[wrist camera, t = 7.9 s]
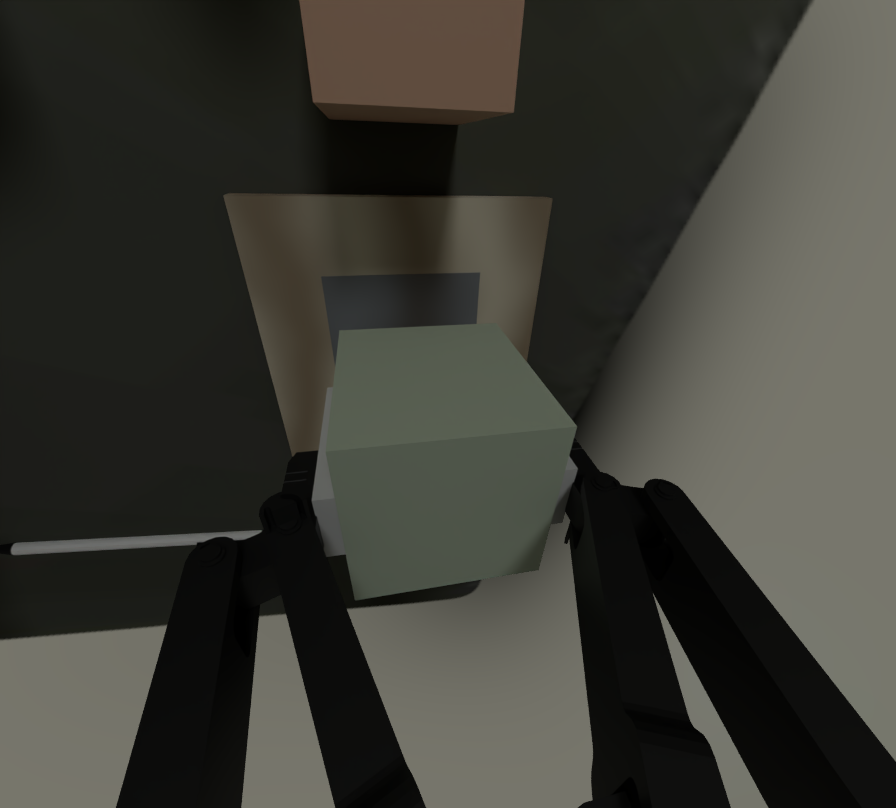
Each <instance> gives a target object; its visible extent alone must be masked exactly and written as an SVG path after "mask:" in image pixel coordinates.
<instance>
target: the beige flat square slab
mask: <svg viewBox="0 0 896 808" xmlns="http://www.w3.org/2000/svg"><path fill="white" fill-rule="evenodd" d="M223 196H224V200H225V204H226V207H227V211H228V215H229V219H230V222H231V226H232V230H233V234H234V238H235V241H236V245H237V249H238V253H239V256H240V260H241V264H242V268H243V271H244V275H245V279H246V283H247V287H248V290H249V294H250V298H251V302H252V305H253V309H254V313H255V317H256V320H257V324H258V328H259V332H260V336H261V339H262V343H263V347H264V351H265V354H266V358H267V362H268V366H269V369H270V373H271V377H272V381H273V385H274V388H275V392H276V396H277V400H278V403H279V407H280V411H281V415H282V419H283V422H284V426H285V430H286V434H287V437H288V441H289V445H290V449H291V452H292V456H294V455H295V454H296V452H305V451H316V450H319V444H320V437H321V430H322V422H323V415H324V408H325V401H326V394H327V388H328V387H333V382H334V374H335V365H336V356H337V348H338V339H339V330H358V329H380V328H401V327H422V326H444V325H465V324H486V323H497V325H498V326H499V327H500V329H501V330H502V331H503V332H504V334H505V335H506V336H507V338H508V339H509V340H510V341H511V343H512V344H513V345H514V347H515V348H516V349H517V350H518V352H519V353H520V354H521V355H522V357H523V358H524V359H525V361H526V362H527V356H528V350H529V344H530V338H531V331H532V325H533V319H534V312H535V306H536V300H537V293H538V287H539V281H540V275H541V268H542V262H543V256H544V249H545V243H546V237H547V230H548V224H549V218H550V212H551V205H552V198H548V197H523V196H432V195H341V194H249V193H229V194H226V195H223Z"/></svg>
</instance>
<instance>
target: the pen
mask: <svg viewBox="0 0 896 808" xmlns="http://www.w3.org/2000/svg"><path fill="white" fill-rule="evenodd" d="M262 531H263V530H256V531H236V532H217V533H198V534H178V535H159V536H140V537H120V538H101V539H82V540H62V541H43V542H23V543H12V544H6V545H0V553H1V554H9V555H25V554H42V553H60V552H77V551H94V550H112V549H129V548H147V547H164V546H182V545H197V546H198V545H200V544H202V543H203V542H205V541H206V540H209V539H212V538H215V537H229V538H232V539H233V540H234V541H235V542H236V543H237V542H239V541H242V540H244V539H247V538H250V537H252V536H254V535H256V534H259V533H260V532H262Z"/></svg>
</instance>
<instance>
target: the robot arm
mask: <svg viewBox="0 0 896 808" xmlns="http://www.w3.org/2000/svg"><path fill="white" fill-rule="evenodd" d="M332 391H333V387H328V388H327V394H326V401H325V408H324V415H323V422H322V430H321V437H320V444H319V450H316V451H305V452H296V454H295V455H294V456H293V457H292V458H291V460H290V461H289V462H288V467H287V471H286V475H285V480H284V484H283V488H282V492H280V493H277V494H275V495H273V496H271V497H270V498H268V499H267V500H266V501H265V502H264V503H263V505H262V506H261V508H260V513H259V517H260V519H261V522H262V525H263V528H264V530H263V531H262V532H260V533H259V534H256V535H254V536H252V537H250V538H247V539H244V540H242V541H239V542H237V543H236V542H235V541H234V540H233V539H232V538H229V537H215V538H212V539H209V540H206V541H205V542H203V543H202V544H200V545H198V546H197V547H196V548H195V549H194V550H193V551H192V552H191V553H190V554H189V556H188V558H187V560H186V562H185V565H184V568H183V572H182V576H181V579H180V583H179V586H178V590H177V593H176V597H175V600H174V604H173V607H172V611H171V615H170V618H169V622H168V625H167V629H166V632H165V636H164V639H163V643H162V647H161V650H160V654H159V657H158V661H157V664H156V668H155V672H154V675H153V678H152V682H151V686H150V689H149V693H148V697H147V700H146V704H145V707H144V710H143V714H142V718H141V721H140V724H139V728H138V732H137V735H136V739H135V742H134V746H133V749H132V753H131V757H130V760H129V764H128V767H127V770H126V774H125V778H124V781H123V785H122V788H121V792H120V795H119V799H118V802H117V806H116V808H241V803H242V793H243V782H244V772H245V771H244V770H245V761H246V750H247V739H248V728H249V716H250V707H251V695H252V685H253V674H254V663H255V652H256V642H257V631H258V620H259V609H260V604H262V603H264V602H266V601H268V600H270V599H272V598H275V597H277V596H279V595H282V599H283V603H284V607H285V611H286V615H287V619H288V623H289V627H290V631H291V635H292V638H293V643H294V647H295V650H296V654H297V658H298V662H299V666H300V670H301V674H302V678H303V682H304V686H305V690H306V694H307V698H308V702H309V706H310V710H311V713H312V717H313V721H314V725H315V729H316V733H317V737H318V741H319V745H320V749H321V753H322V757H323V761H324V765H325V769H326V773H327V777H328V780H329V785H330V788H331V792H332V796H333V800H334V804H335V808H426V807H425V804H424V802H423V799H422V797H421V794H420V791H419V789H418V786H417V784H416V782H415V780H414V777H413V775H412V773H411V772H410V770H409V768H408V766H407V764H406V762H405V760H404V757H403V754H402V752H401V749H400V747H399V744H398V741H397V739H396V736H395V733H394V731H393V728H392V726H391V723H390V721H389V718H388V715H387V713H386V710H385V707H384V705H383V702H382V700H381V697H380V695H379V692H378V689H377V687H376V684H375V682H374V679H373V676H372V674H371V671H370V669H369V666H368V664H367V661H366V658H365V656H364V653H363V650H362V648H361V645H360V643H359V640H358V638H357V635H356V632H355V630H354V627H353V625H352V622H351V619H350V617H349V614H348V612H347V609H346V606H345V604H344V601H343V599H342V596H341V593H340V591H339V588H338V586H337V583H336V580H335V578H334V575H333V573H332V570H331V567H330V565H329V562H328V560H327V557H330V556H337V555H344V554H346V553H345V548H344V543H343V538H342V532H341V527H340V522H339V517H338V512H337V507H336V502H335V497H334V492H333V487H332V482H331V477H330V472H329V467H328V462H327V457H326V443H327V434H328V426H329V417H330V408H331V400H332ZM565 512H566V514H567V515H568V517H569V519H570V524H569V528H568V531H567V534H566V537H565V542H564V543H566V544H567V543H568V540H570V549H571V558H572V566H573V575H574V583H575V593H576V601H577V610H578V619H579V628H580V637H581V646H582V654H583V663H584V672H585V681H586V690H587V698H588V706H589V716H590V725H591V733H592V742H593V763H592V771H591V784H592V797H593V800H592V801H589V802H585V803H583V804H582V805H581V806H579V807H578V808H731V807H730V804H729V801H728V798H727V795H726V791H725V788H724V785H723V782H722V779H721V775H720V772H719V769H718V766H717V762H716V759H715V757H714V754H713V751H712V749H711V746H710V744H709V743H708V741H707V739H706V738H705V736H704V735H703V734H702V733H700V732H699V731H698V730H696V729H695V728H694V727H693V725H692V724H691V722H690V719H689V716H688V714H687V710H686V706H685V703H684V699H683V696H682V693H681V689H680V686H679V682H678V679H677V675H676V672H675V668H674V665H673V661H672V658H671V654H670V651H669V648H668V644H667V641H666V638H665V634H664V630H663V627H662V623H661V620H660V617H659V613H658V610H657V606H656V603H655V600H654V596H653V594H654V595H655V597H656V599H657V601H658V603H659V605H660V607H661V608H662V611H663V612H664V614H665V616H666V618H667V620H668V621H669V624H670V625H671V627H672V629H673V631H674V633H675V635H676V637H677V638H678V640H679V642H680V644H681V646H682V648H683V650H684V652H685V653H686V655H687V657H688V659H689V661H690V663H691V665H692V666H693V668H694V670H695V672H696V674H697V676H698V677H699V679H700V681H701V683H702V685H703V687H704V689H705V691H706V692H707V694H708V696H709V698H710V700H711V702H712V704H713V706H714V707H715V709H716V711H717V713H718V715H719V717H720V719H721V720H722V722H723V724H724V726H725V728H726V730H727V731H728V734H729V735H730V737H731V739H732V741H733V743H734V745H735V746H736V748H737V750H738V752H739V754H740V756H741V758H742V760H743V761H744V763H745V765H746V767H747V769H748V771H749V773H750V775H751V776H752V778H753V780H754V782H755V784H756V786H757V788H758V789H759V791H760V793H761V795H762V797H763V799H764V800H765V802H766V804H767V806H768V807H769V808H896V762H895V760H894V759H893V758H892V757H891V755H890V754H889V753H888V751H887V750H886V749H885V748H884V747H883V745H882V744H881V743H880V741H879V740H878V739H877V737H876V736H875V735H874V734H873V732H872V731H871V730H870V728H869V727H868V726H867V725H866V724H865V722H864V721H863V720H862V718H861V717H860V716H859V714H858V713H857V712H856V711H855V710H854V708H853V707H852V706H851V704H850V703H849V702H848V701H847V699H846V698H845V697H844V695H843V694H842V693H841V692H840V691H839V689H838V688H837V687H836V685H835V684H834V683H833V682H832V680H831V679H830V678H829V676H828V675H827V674H826V672H825V671H824V670H823V669H822V667H821V666H820V665H819V664H818V662H817V661H816V660H815V658H814V657H813V656H812V655H811V653H810V652H809V651H808V650H807V648H806V647H805V646H804V644H803V643H802V642H801V641H800V639H799V638H798V637H797V636H796V634H795V633H794V632H793V630H792V629H791V628H790V627H789V626H788V624H787V623H786V622H785V620H784V619H783V618H782V616H781V615H780V614H779V613H778V611H777V610H776V609H775V608H774V606H773V605H772V604H771V602H770V601H769V600H768V599H767V598H766V596H765V595H764V594H763V592H762V591H761V590H760V589H759V587H758V586H757V585H756V583H755V582H754V581H753V580H752V579H751V577H750V576H749V574H748V573H747V572H746V571H745V569H744V568H743V567H742V566H741V564H740V563H739V562H738V560H737V559H736V558H735V557H734V556H733V554H732V553H731V552H730V550H729V549H728V548H727V547H726V545H725V544H724V543H723V541H722V540H721V539H720V538H719V536H718V535H717V534H716V532H715V531H714V530H713V529H712V527H711V526H710V525H709V524H708V522H707V521H706V520H705V518H704V517H703V516H702V515H701V513H700V512H699V511H698V510H697V508H696V507H695V506H694V504H693V503H692V502H691V501H690V499H689V498H688V497H687V496H686V494H685V493H684V492H683V491H682V490H681V489H680V488H679V487H678V486H676V485H675V484H673V483H671V482H669V481H666V480H662V479H652V480H649V481H648V482H647V483H646V484H645V486H644V488H637V487H630V486H623V485H620V483H619V481H618V480H616V479H615V478H614V477H613V476H610V475H609V474H607V473H603V472H600V471H599V470H598V469H597V467H596V466H595V465H594V463H593V462H592V460H591V459H590V458H589V456H588V455H587V454H586V452H585V451H584V450H583V449H582V447H581V446H580V445H579V443H578V442H577V440H576V439H575V438H574V440H573V443H572V447H571V451H570V454H569V458H568V462H567V466H566V469H565V473H564V477H563V480H562V484H561V488H560V492H559V495H558V499H557V503H556V506H555V510H554V514H553V518H552V521H551V524H555V523H562V522H563V518H564V515H565Z"/></svg>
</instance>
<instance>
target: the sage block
mask: <svg viewBox="0 0 896 808" xmlns="http://www.w3.org/2000/svg"><path fill="white" fill-rule="evenodd" d="M576 428H577V426H576V425H575V423H574V422H573V421H572V420H571V418H570V417H569V416H568V414H567V413H566V412H565V411H564V409H563V408H562V407H561V405H560V404H559V403H558V402H557V400H556V399H555V398H554V397H553V395H552V394H551V393H550V391H549V390H548V389H547V388H546V386H545V385H544V384H543V382H542V381H541V380H540V379H539V377H538V376H537V375H536V373H535V372H534V371H533V370H532V368H531V367H530V366H529V364H528V363H527V362H526V361H525V359H524V358H523V357H522V355H521V354H520V353H519V352H518V350H517V349H516V348H515V347H514V345H513V344H512V343H511V341H510V340H509V339H508V338H507V336H506V335H505V334H504V332H503V331H502V330H501V329H500V327H499V326H498V325H497V323H486V324H465V325H444V326H422V327H401V328H380V329H358V330H339V339H338V348H337V356H336V365H335V374H334V382H333V391H332V400H331V408H330V417H329V426H328V434H327V443H326V457H327V462H328V467H329V472H330V477H331V482H332V487H333V492H334V497H335V502H336V507H337V512H338V517H339V522H340V527H341V532H342V538H343V543H344V548H345V553H346V558H347V563H348V568H349V573H350V578H351V583H352V588H353V593H354V598H355V600H361V599H367V598H373V597H379V596H385V595H391V594H397V593H403V592H409V591H415V590H421V589H427V588H433V587H439V586H445V585H451V584H457V583H463V582H469V581H475V580H481V579H486V578H493V577H499V576H505V575H510V574H517V573H523V572H529V571H535V570H539V566H540V562H541V558H542V554H543V551H544V547H545V544H546V540H547V536H548V532H549V528H550V525H551V521H552V518H553V514H554V510H555V506H556V503H557V499H558V495H559V492H560V488H561V484H562V480H563V477H564V473H565V469H566V466H567V462H568V458H569V454H570V451H571V447H572V443H573V440H574V435H575V432H576Z"/></svg>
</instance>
